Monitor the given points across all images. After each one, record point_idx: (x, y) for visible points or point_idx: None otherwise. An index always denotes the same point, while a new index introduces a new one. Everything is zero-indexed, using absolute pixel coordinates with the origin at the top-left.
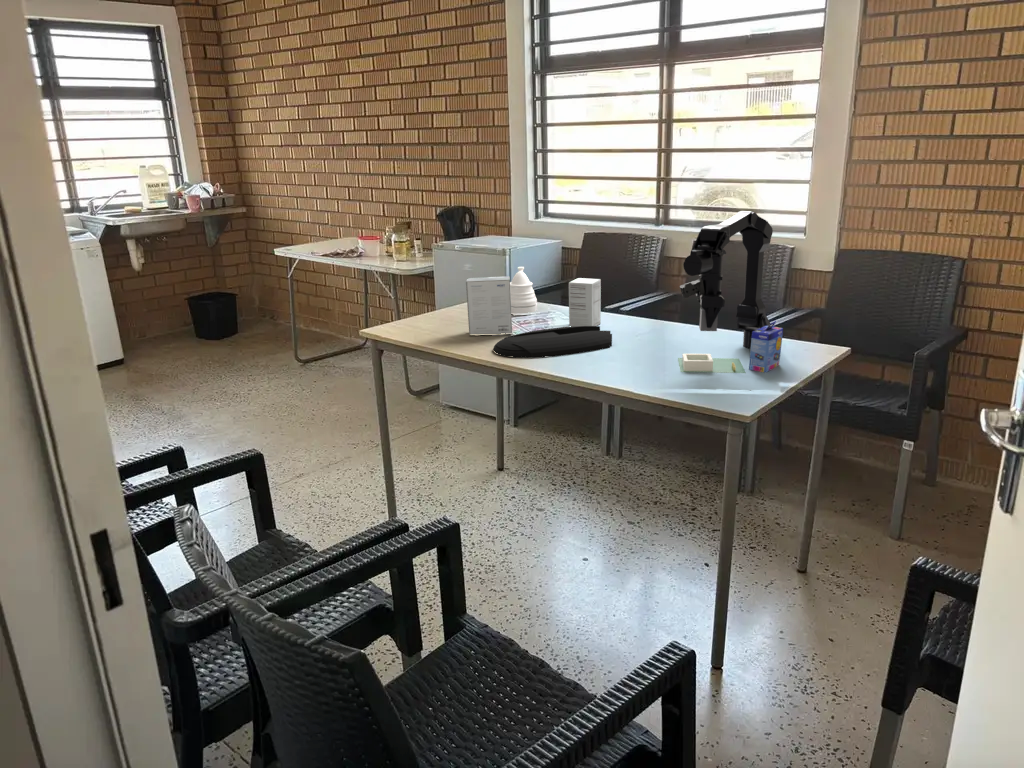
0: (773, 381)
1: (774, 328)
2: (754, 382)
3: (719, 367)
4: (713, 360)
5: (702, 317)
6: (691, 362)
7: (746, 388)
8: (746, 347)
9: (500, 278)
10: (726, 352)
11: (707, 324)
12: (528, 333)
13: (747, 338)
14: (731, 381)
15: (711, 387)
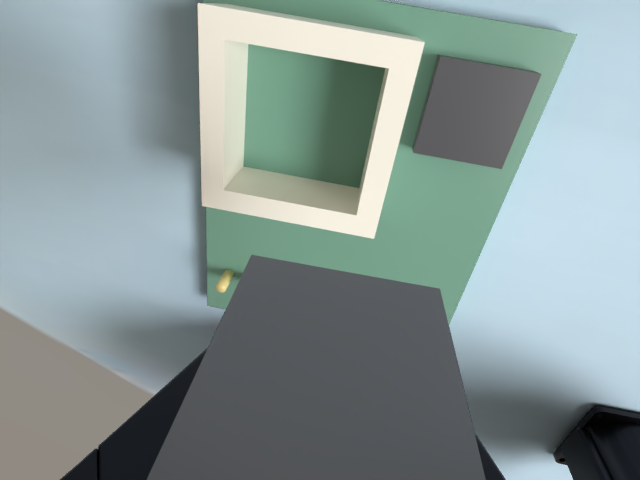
0: (157, 351)
1: None
2: (134, 296)
3: (296, 232)
4: (434, 243)
5: (182, 412)
6: (202, 63)
7: (49, 247)
8: (610, 430)
9: None
10: (618, 346)
11: (192, 367)
12: None
13: (632, 475)
14: (133, 224)
15: (19, 109)
